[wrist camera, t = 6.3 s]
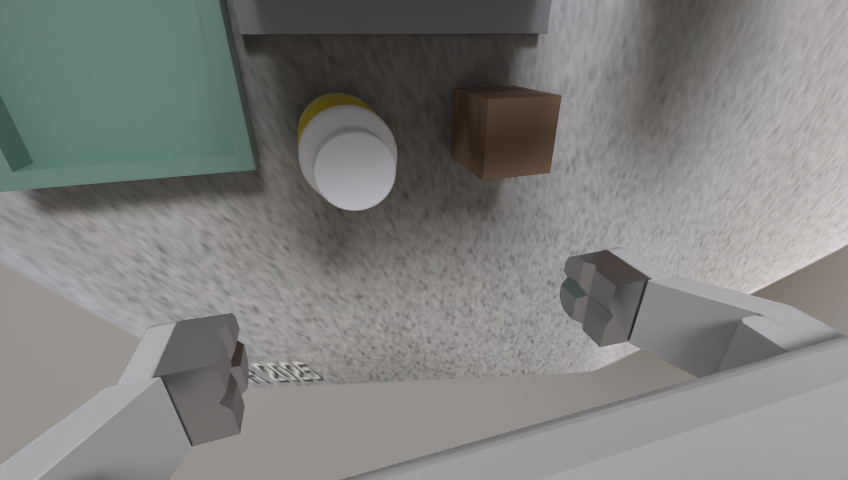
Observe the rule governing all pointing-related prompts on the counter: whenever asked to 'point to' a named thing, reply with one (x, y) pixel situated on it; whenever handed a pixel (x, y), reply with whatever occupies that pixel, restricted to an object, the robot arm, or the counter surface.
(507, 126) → the walnut block
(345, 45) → the counter surface
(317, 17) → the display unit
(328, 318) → the counter surface
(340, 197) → the supplement bottle
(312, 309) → the counter surface
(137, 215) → the counter surface
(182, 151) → the tray
